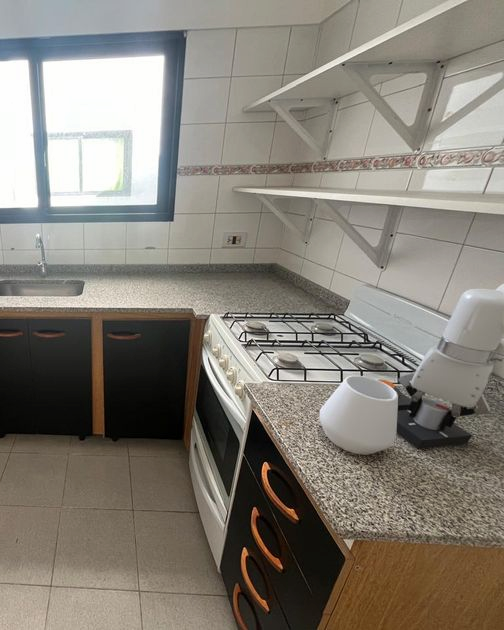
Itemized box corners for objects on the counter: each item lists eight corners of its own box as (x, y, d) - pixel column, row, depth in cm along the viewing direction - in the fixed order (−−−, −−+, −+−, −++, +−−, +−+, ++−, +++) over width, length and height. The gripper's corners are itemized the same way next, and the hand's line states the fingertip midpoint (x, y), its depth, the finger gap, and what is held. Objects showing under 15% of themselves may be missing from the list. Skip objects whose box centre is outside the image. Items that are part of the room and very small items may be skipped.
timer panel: (425, 416, 83) (429, 407, 82) (467, 443, 75) (472, 434, 74) (380, 420, 82) (384, 411, 80) (418, 449, 73) (423, 439, 72)
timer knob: (410, 421, 77) (420, 402, 75) (416, 413, 80) (425, 395, 78) (437, 432, 74) (447, 413, 72) (442, 424, 77) (452, 405, 74)
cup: (384, 474, 68) (411, 418, 62) (307, 439, 76) (324, 387, 70) (391, 437, 76) (416, 386, 71) (321, 410, 85) (338, 362, 79)
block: (382, 388, 93) (387, 376, 91) (415, 410, 85) (421, 397, 83) (344, 391, 92) (349, 379, 90) (374, 414, 83) (380, 401, 82)
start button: (383, 384, 88) (385, 378, 88) (396, 393, 85) (399, 387, 84) (370, 385, 88) (373, 380, 87) (383, 394, 85) (386, 388, 84)
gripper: (530, 361, 65) (485, 435, 73) (414, 329, 78) (385, 395, 85) (526, 375, 61) (478, 452, 69) (404, 339, 73) (375, 407, 81)
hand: (427, 420), depth 77 cm, fingers closed on timer knob, 4 cm apart
